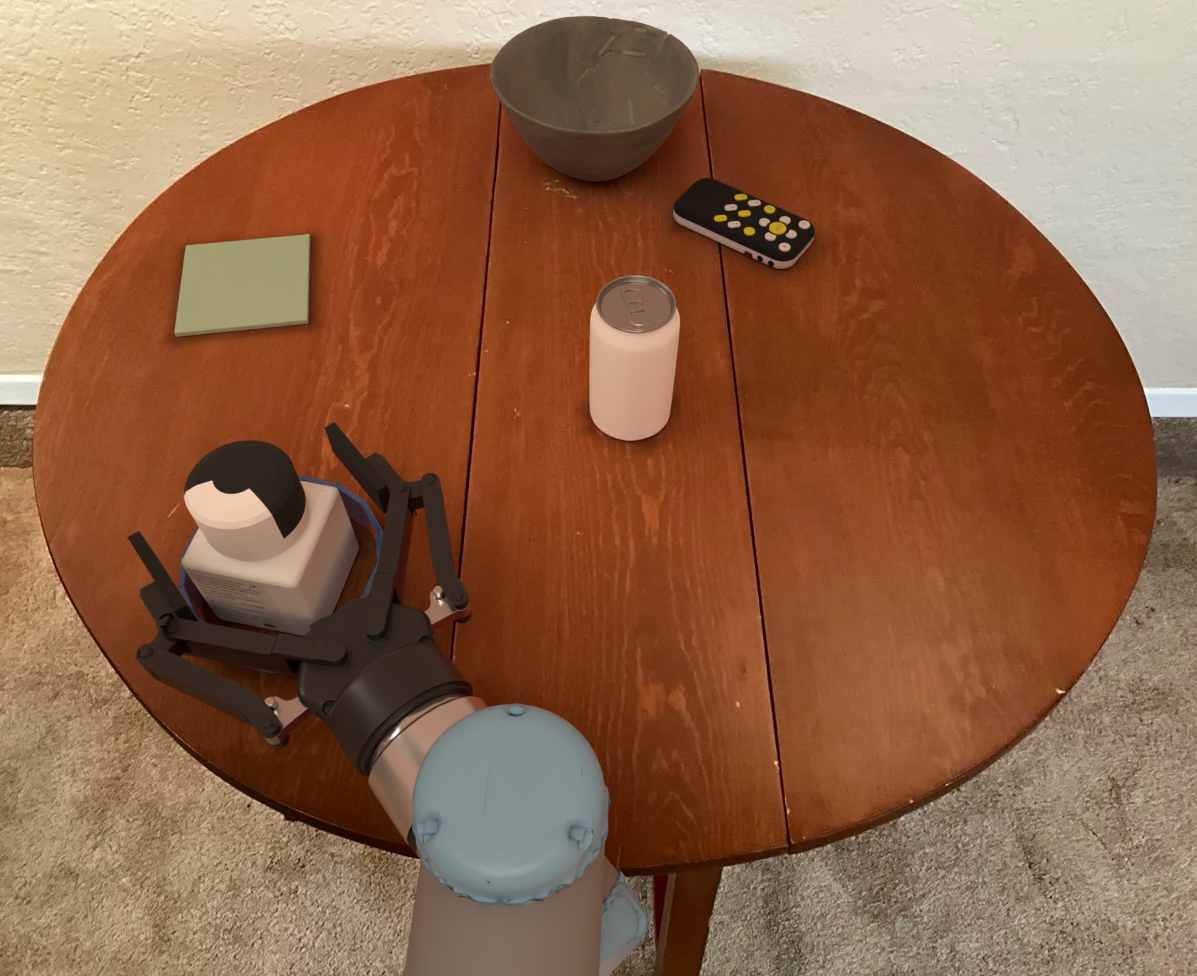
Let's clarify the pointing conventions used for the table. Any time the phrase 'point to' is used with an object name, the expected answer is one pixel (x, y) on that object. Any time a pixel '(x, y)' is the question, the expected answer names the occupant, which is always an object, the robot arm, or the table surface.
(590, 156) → the bowl
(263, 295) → the mat
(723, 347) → the table surface
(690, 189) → the remote control
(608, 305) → the can
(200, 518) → the container
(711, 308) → the table surface
